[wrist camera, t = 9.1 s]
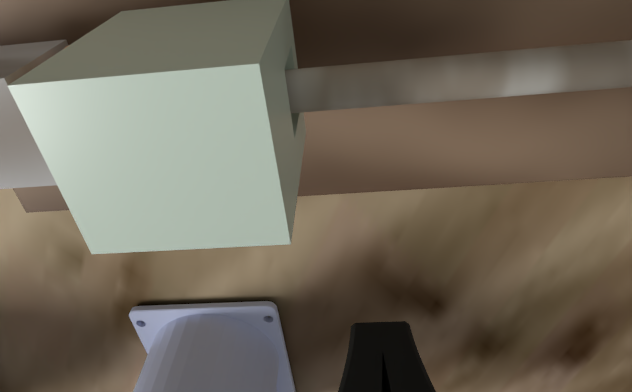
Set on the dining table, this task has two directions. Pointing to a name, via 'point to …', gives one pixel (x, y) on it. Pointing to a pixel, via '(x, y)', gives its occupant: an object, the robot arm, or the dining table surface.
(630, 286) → the dining table surface
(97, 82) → the pale green block
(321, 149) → the board
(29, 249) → the dining table surface
